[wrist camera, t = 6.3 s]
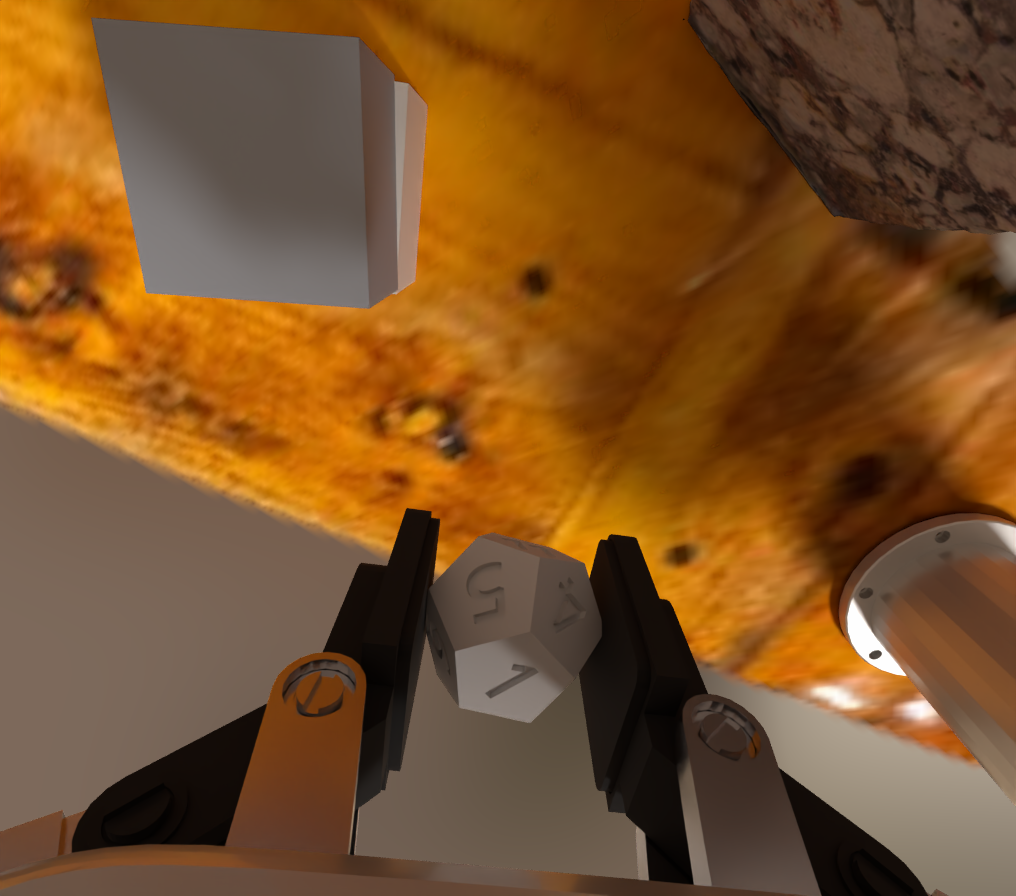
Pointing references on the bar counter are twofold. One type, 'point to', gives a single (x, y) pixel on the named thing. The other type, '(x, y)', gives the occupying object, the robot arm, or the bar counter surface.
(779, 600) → the bar counter surface
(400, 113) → the lower block
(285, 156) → the upper block
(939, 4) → the stone block
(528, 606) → the game die
